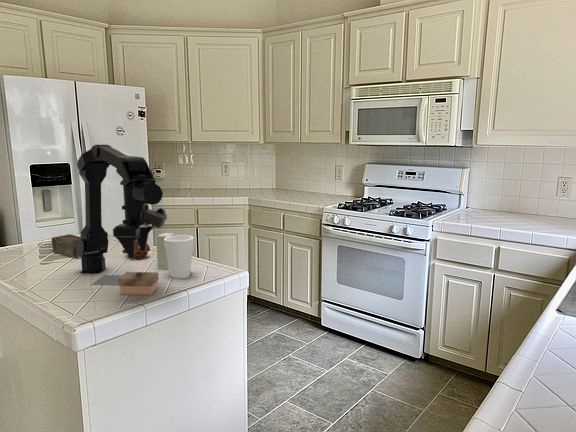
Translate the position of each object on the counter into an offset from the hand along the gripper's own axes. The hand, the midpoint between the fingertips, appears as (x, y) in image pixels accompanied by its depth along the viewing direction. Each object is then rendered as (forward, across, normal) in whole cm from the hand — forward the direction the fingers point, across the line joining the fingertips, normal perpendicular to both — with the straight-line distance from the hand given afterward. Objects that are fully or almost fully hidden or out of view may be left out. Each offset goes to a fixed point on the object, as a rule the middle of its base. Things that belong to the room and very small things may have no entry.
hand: (137, 254), depth 126 cm
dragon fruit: (+12, +39, +15) cm, 44 cm away
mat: (+12, +10, +11) cm, 19 cm away
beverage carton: (+12, +44, +42) cm, 62 cm away
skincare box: (+12, +25, -1) cm, 28 cm away
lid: (+9, 0, 0) cm, 9 cm away
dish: (+12, 0, 0) cm, 12 cm away
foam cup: (+12, +16, -8) cm, 21 cm away
